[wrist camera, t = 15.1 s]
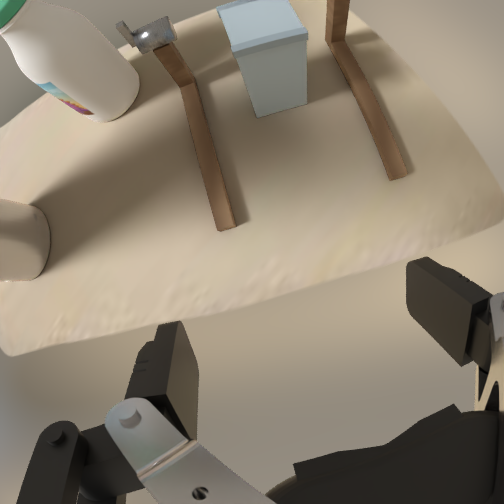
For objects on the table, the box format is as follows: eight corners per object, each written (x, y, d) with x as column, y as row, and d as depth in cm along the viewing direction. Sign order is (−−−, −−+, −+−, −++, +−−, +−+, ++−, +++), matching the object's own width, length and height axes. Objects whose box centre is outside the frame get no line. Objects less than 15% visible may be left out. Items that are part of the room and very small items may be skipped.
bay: (220, 231, 29) (191, 219, 21) (181, 82, 30) (151, 40, 22) (403, 176, 27) (435, 147, 19) (337, 37, 28) (342, -13, 20)
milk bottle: (137, 57, 32) (42, -48, 12) (147, 104, 31) (28, -7, 11) (84, 87, 33) (-23, 7, 13) (89, 135, 32) (-42, 60, 12)
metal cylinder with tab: (139, 61, 22) (116, 35, 18) (137, 43, 23) (115, 17, 19) (178, 44, 22) (160, 14, 18) (174, 27, 22) (156, -2, 18)
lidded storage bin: (256, 119, 29) (232, 52, 18) (242, 78, 29) (215, 7, 19) (308, 104, 28) (308, 32, 17) (291, 64, 29) (283, -11, 18)
